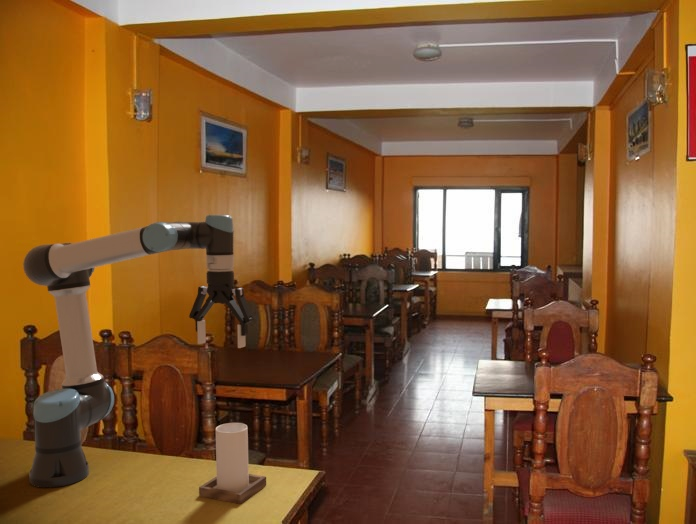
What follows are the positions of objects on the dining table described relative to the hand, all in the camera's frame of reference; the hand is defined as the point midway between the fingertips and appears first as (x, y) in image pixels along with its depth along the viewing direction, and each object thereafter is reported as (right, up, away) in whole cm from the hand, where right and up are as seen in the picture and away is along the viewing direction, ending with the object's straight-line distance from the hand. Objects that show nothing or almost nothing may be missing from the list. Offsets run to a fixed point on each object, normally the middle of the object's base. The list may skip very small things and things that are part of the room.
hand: (221, 345), depth 184 cm
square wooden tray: (+6, -36, -13) cm, 39 cm away
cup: (+5, -36, -13) cm, 38 cm away
